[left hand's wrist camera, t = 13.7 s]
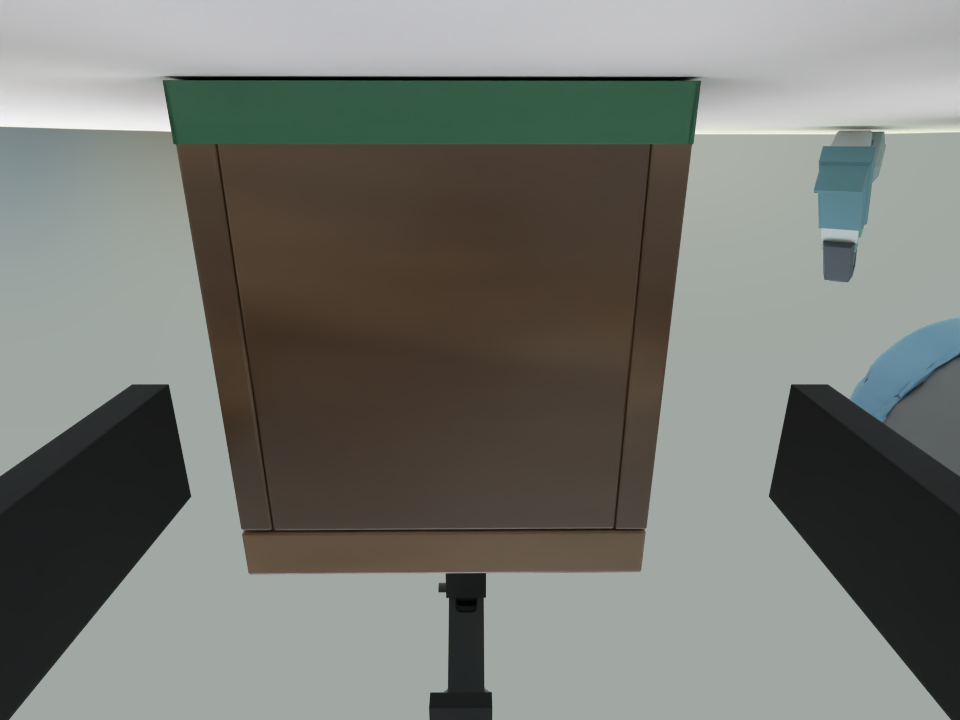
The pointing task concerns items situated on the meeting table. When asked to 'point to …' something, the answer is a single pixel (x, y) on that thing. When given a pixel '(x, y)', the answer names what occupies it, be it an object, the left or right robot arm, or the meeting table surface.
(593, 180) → the chest
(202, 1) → the meeting table surface
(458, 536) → the lid
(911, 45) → the meeting table surface
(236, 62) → the meeting table surface
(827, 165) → the toy gun
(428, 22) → the meeting table surface
